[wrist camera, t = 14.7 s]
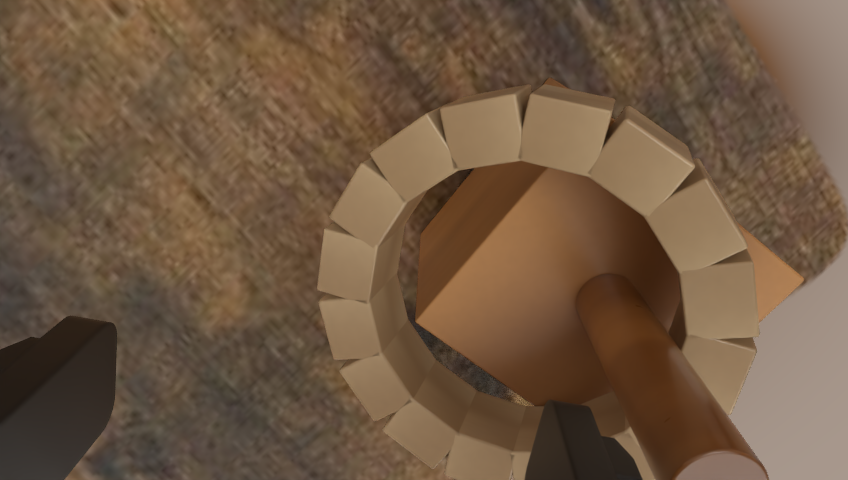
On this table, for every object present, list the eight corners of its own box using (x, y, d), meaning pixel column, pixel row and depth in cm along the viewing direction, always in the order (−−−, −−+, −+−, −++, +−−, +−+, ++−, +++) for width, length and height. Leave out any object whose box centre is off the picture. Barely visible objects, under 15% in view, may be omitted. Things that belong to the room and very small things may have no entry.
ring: (286, 215, 21) (245, 238, 19) (602, -4, 16) (597, -6, 14) (476, 494, 22) (459, 546, 20) (823, 365, 17) (849, 415, 15)
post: (699, 202, 26) (1055, 462, 11) (565, 341, 28) (713, 717, 13) (549, 76, 25) (727, 183, 10) (420, 234, 27) (400, 522, 12)
